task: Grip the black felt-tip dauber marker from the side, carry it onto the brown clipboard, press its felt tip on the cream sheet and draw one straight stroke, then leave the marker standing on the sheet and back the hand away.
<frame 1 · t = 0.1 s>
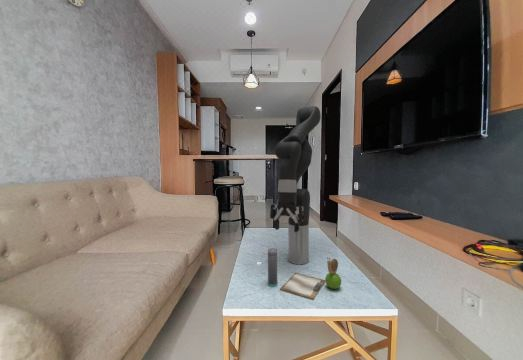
hand: (286, 230, 92), 17 cm above the table, tool pointing down, fingers open, 8 cm apart
clipboard: (303, 285, 82), on the table
snail figurine: (332, 288, 80), on the table
dauber marker: (272, 284, 83), on the table
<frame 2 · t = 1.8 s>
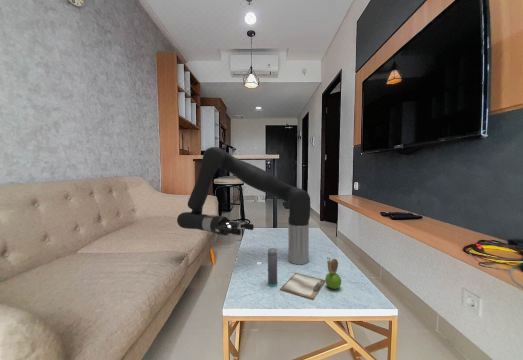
hand: (247, 229, 88), 19 cm above the table, tool horizontal, fingers open, 8 cm apart
nothing on the table moved.
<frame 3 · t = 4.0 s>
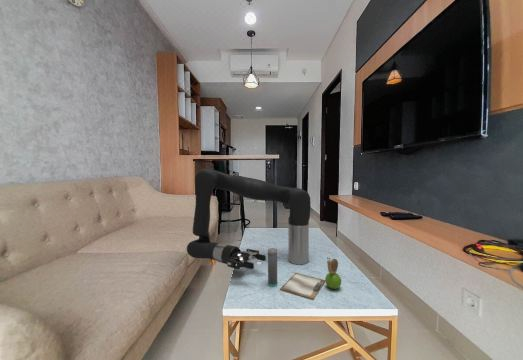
hand: (259, 262, 86), 7 cm above the table, tool horizontal, fingers open, 8 cm apart
nothing on the table moved.
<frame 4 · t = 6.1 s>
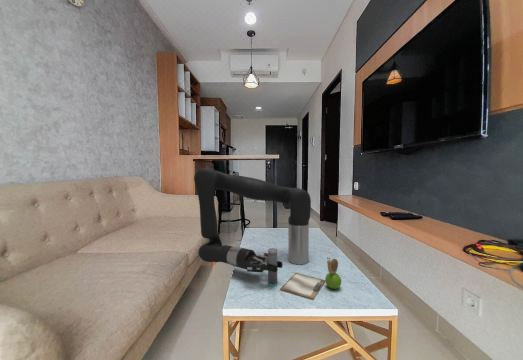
hand: (279, 267, 81), 7 cm above the table, tool horizontal, fingers closed on dauber marker, 3 cm apart
dauber marker: (272, 284, 83), on the table, touching gripper
everything else where it was.
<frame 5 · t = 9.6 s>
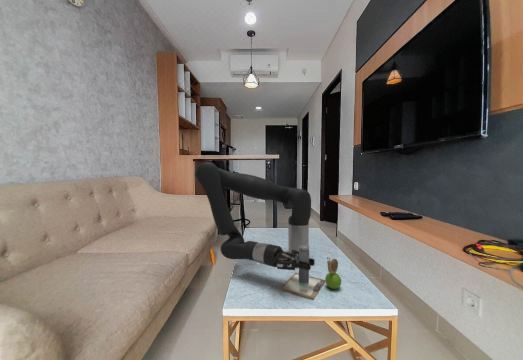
hand: (312, 264, 76), 10 cm above the table, tool horizontal, fingers closed on dauber marker, 3 cm apart
dauber marker: (303, 283, 77), point 3 cm above the table, touching gripper
everything else where it was.
when the fingers open (9 cm above the table, at t = 13.3 s): dauber marker stays where it is, resting on clipboard.
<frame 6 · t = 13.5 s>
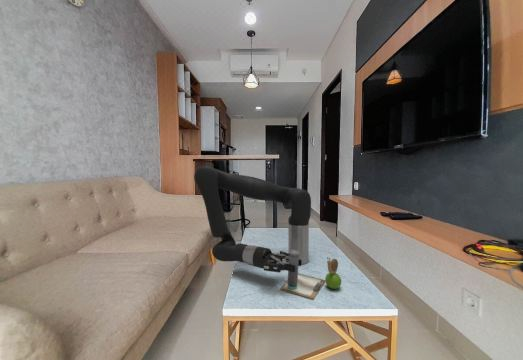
hand: (298, 265, 79), 9 cm above the table, tool horizontal, fingers open, 5 cm apart
dauber marker: (292, 286, 80), point 1 cm above the table, touching clipboard
everything else where it was.
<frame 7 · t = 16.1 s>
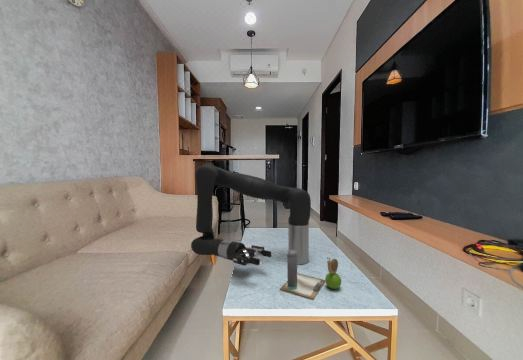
hand: (265, 258, 85), 9 cm above the table, tool horizontal, fingers open, 8 cm apart
nothing on the table moved.
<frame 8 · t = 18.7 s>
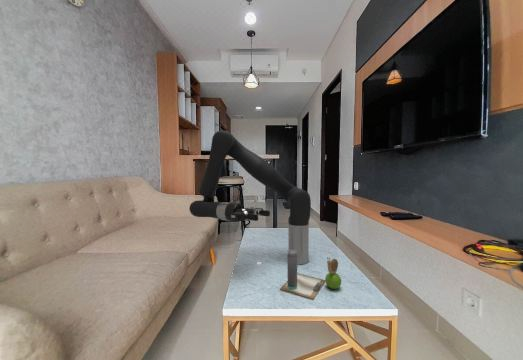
hand: (263, 215, 85), 25 cm above the table, tool horizontal, fingers open, 8 cm apart
nothing on the table moved.
at the end: dauber marker inside the target area on the clipboard (0.6 cm from its centre), point 0.6 cm above the clipboard's base; dauber marker tilted 0°; the gripper is holding nothing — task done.
